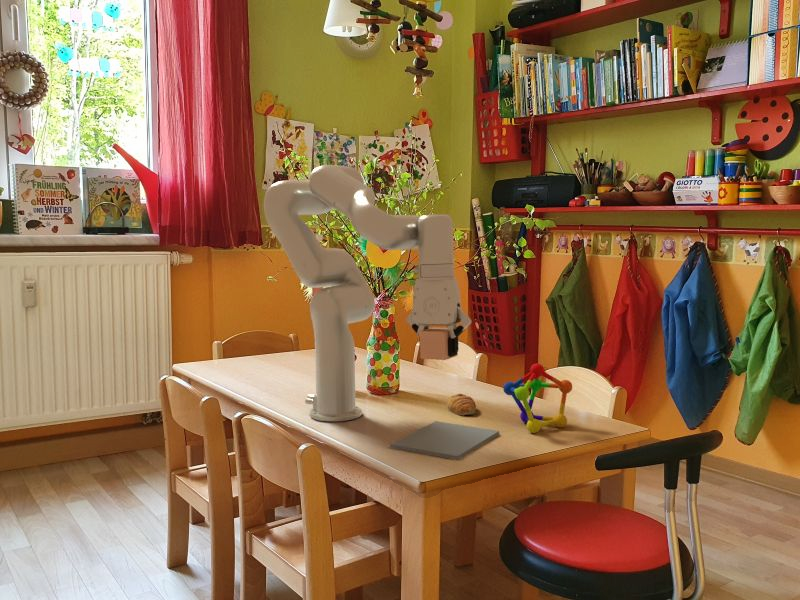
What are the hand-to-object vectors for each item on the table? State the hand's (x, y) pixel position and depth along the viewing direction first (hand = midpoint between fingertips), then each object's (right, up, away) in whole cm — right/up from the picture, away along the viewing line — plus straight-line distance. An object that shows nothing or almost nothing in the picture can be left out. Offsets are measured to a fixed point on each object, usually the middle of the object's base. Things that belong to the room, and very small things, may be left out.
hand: (439, 354), depth 159 cm
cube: (0, -1, 0) cm, 1 cm away
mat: (+1, -19, -2) cm, 19 cm away
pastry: (+7, -16, +23) cm, 29 cm away
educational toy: (+22, -17, +9) cm, 30 cm away
